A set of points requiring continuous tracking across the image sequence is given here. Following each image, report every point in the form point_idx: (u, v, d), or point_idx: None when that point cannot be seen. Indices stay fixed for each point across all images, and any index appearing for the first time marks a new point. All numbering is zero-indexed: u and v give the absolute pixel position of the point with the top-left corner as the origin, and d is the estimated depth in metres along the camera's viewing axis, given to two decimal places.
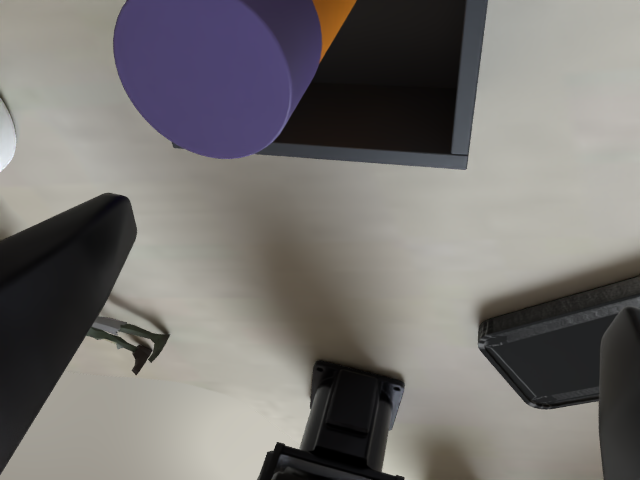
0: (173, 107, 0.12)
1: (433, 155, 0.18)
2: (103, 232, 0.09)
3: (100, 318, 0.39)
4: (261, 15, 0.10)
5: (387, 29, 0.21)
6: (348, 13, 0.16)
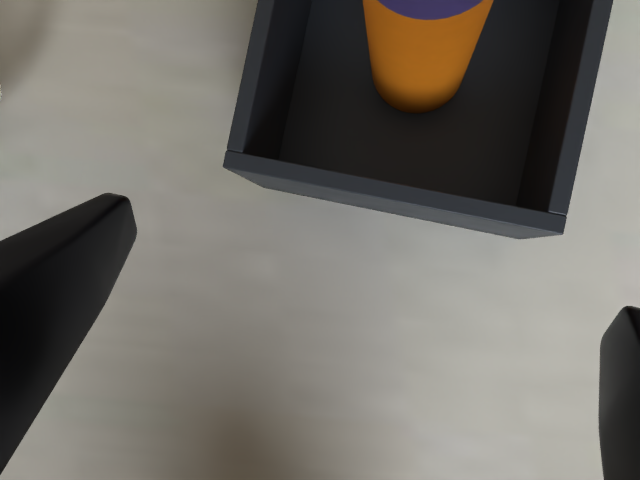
0: None
1: (528, 212, 0.17)
2: (103, 232, 0.09)
3: None
4: None
5: (451, 152, 0.22)
6: (472, 47, 0.17)
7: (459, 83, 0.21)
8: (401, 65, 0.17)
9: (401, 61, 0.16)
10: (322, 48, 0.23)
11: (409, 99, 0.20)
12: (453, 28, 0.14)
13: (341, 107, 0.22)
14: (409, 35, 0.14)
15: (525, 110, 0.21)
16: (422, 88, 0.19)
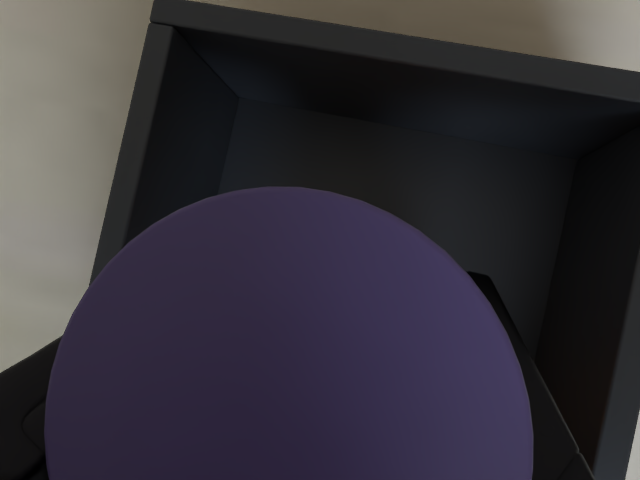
0: None
1: None
2: None
3: None
4: (499, 320, 0.04)
5: None
6: None
7: None
8: None
9: None
10: None
11: None
12: None
13: None
14: None
15: None
16: None
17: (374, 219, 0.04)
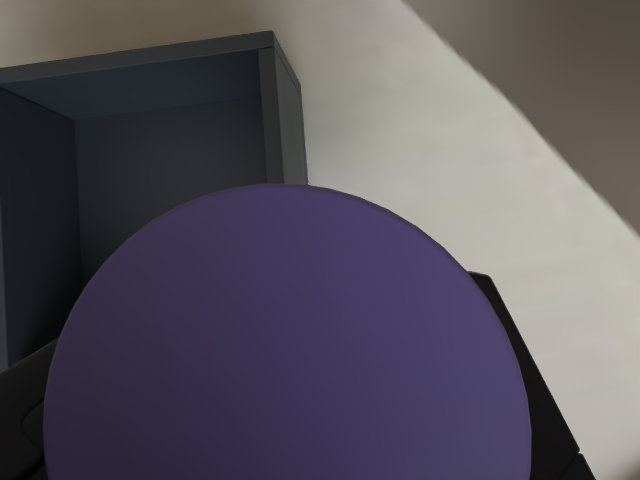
0: None
1: None
2: None
3: None
4: (497, 316, 0.04)
5: None
6: None
7: None
8: None
9: None
10: (98, 232, 0.24)
11: None
12: None
13: None
14: None
15: None
16: None
17: (372, 216, 0.04)
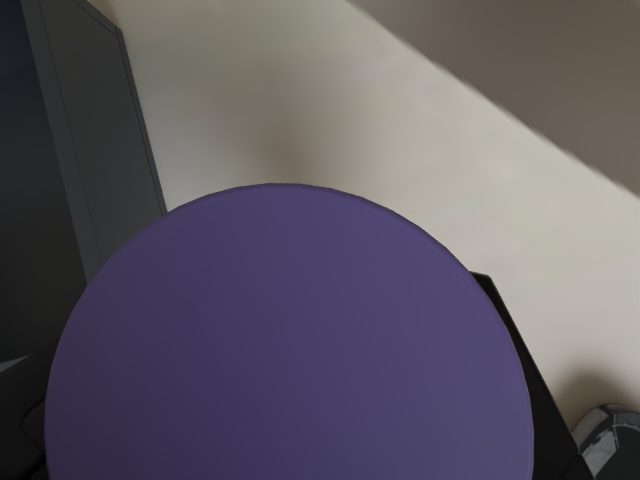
0: None
1: None
2: None
3: None
4: (500, 317, 0.04)
5: None
6: None
7: None
8: None
9: None
10: None
11: None
12: None
13: None
14: None
15: None
16: None
17: (375, 216, 0.04)
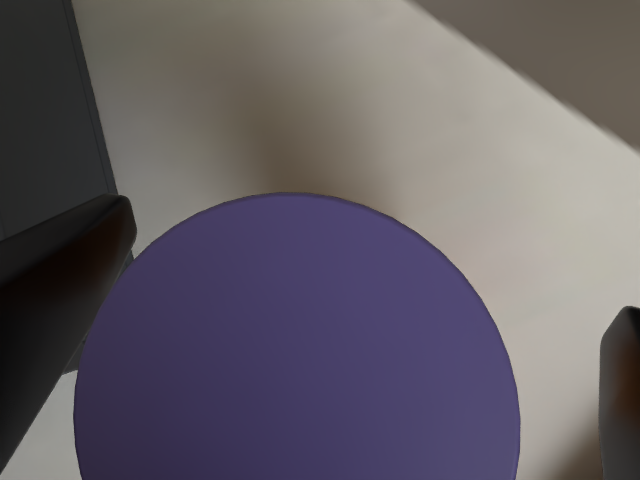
0: (175, 471, 0.05)
1: None
2: (103, 232, 0.09)
3: None
4: None
5: None
6: None
7: None
8: None
9: None
10: None
11: None
12: None
13: None
14: None
15: None
16: None
17: (376, 223, 0.04)
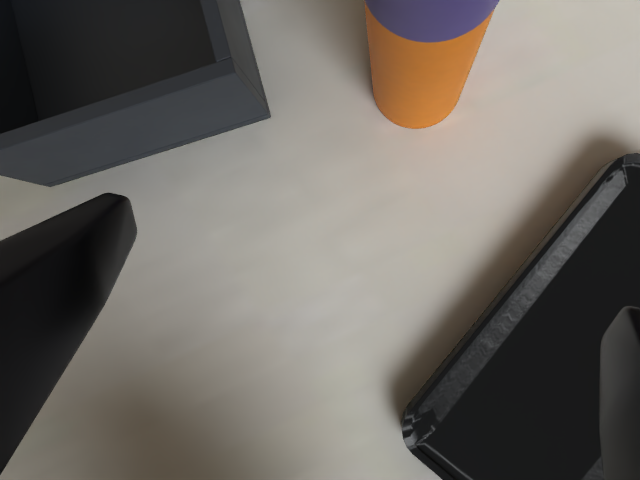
0: None
1: (202, 70, 0.19)
2: (103, 232, 0.09)
3: None
4: None
5: None
6: (468, 67, 0.18)
7: (456, 100, 0.22)
8: (401, 83, 0.18)
9: (402, 80, 0.18)
10: (40, 50, 0.25)
11: (408, 115, 0.21)
12: (450, 50, 0.15)
13: (77, 88, 0.25)
14: (410, 56, 0.15)
15: None
16: (421, 105, 0.20)
17: None
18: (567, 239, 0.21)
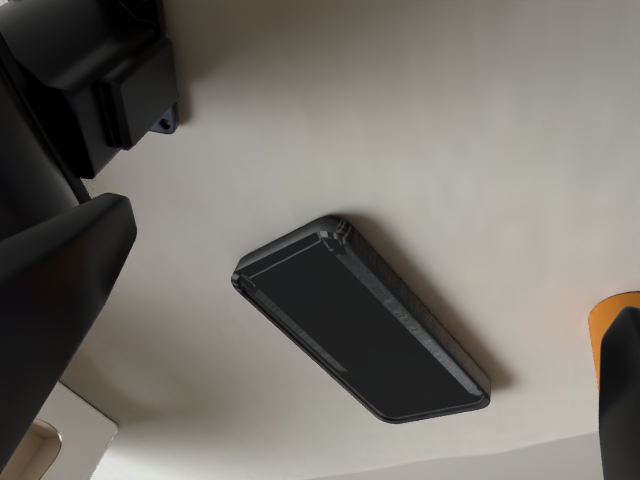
0: None
1: None
2: (103, 232, 0.09)
3: None
4: None
5: None
6: None
7: None
8: None
9: None
10: None
11: None
12: None
13: None
14: None
15: None
16: None
17: None
18: (447, 360, 0.28)
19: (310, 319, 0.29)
